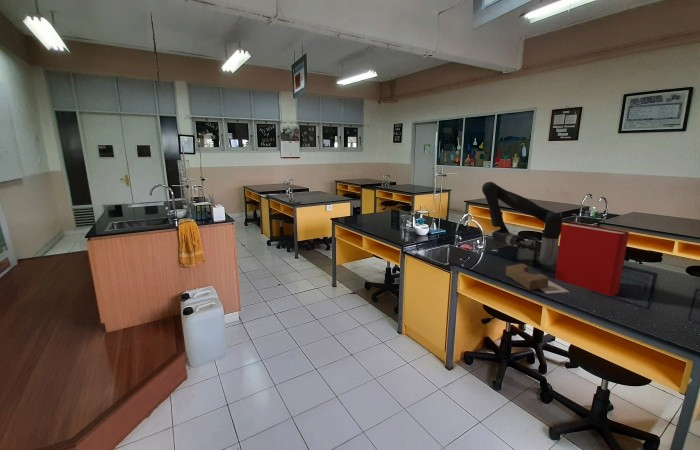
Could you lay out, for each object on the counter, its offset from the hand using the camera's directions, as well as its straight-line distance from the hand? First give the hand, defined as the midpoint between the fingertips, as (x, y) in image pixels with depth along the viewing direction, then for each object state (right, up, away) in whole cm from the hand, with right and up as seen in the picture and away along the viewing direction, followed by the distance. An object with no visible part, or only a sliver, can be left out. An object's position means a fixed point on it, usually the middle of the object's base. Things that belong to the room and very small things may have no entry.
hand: (533, 249), depth 181 cm
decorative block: (-8, -12, +5) cm, 16 cm away
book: (+23, -19, -9) cm, 31 cm away
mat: (+1, -19, -7) cm, 20 cm away
